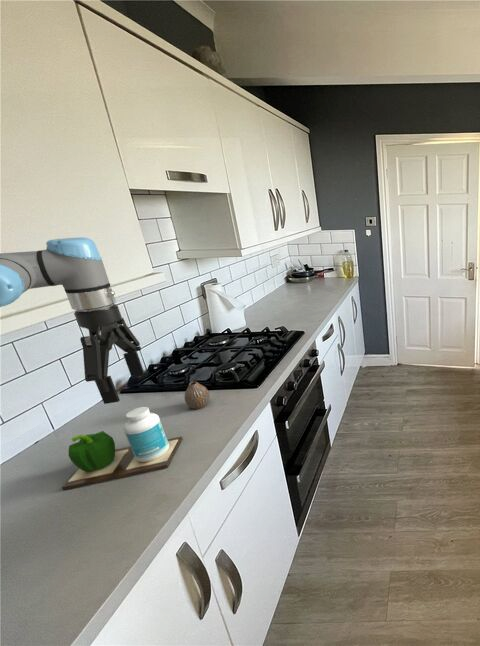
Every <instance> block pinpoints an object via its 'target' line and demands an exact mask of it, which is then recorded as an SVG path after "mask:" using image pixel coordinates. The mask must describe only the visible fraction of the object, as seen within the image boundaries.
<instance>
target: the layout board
mask: <svg viewBox="0 0 480 646" xmlns="http://www.w3.org/2000/svg"><path fill="white" fill-rule="evenodd" d="M183 439H184V438H183V436H176V437H172V438H167V440H168V443H169V449H168V451H167V452H166V453H165V454H163V455H162V456H160V457H159V458H157V459H154V460H152V461H147V462H140V461H138V460H136V458H135V456H134V453H133V451H132V449H131V446H126V447H121V448H115V457H114V460H113V461H112V462H111V463H110V464H109V465H108V466H106V467H104V468H101V469H95V470H93V471H89V472H86V471H83V470H81V469H80V468H78V467H77V469H76V470H75V471H74V472H73V474H72V475H71V476H70V477H69V478H68V479H67V481H66V482H65V483H64V484H63V486H62V487H61V489H62V490H63V491H68V490H72V489H77V488H81V487H86V486H90V485H96V484H100V483H105V482H109V481H113V480H118V479H123V478H128V477H131V476H137V475H141V474H145V473H151V472H156V471H159V470H165V469H168V468H169V467H170V465H171V463H172V461H173V459H174V457H175V455H176V454H177V451H178V450H179V446H180V445H181V443H182V442H183Z"/></svg>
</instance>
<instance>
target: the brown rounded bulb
mask: <svg viewBox="0 0 480 646" xmlns="http://www.w3.org/2000/svg"><path fill="white" fill-rule="evenodd" d="M183 396H184V401H185V404H186V406H188V407H189V408H191V409H193V410H199V409H202V408H204V407H206V406H207V405H208V404H209V402H210V391H209V390H208V388H207V387H206V386H204V385H203V384H200V383H199V382H198V381H192V382H189V384H188V386H187V388H186V390H185V391H184V395H183Z"/></svg>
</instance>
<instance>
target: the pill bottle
mask: <svg viewBox="0 0 480 646" xmlns="http://www.w3.org/2000/svg"><path fill="white" fill-rule="evenodd" d="M125 419H126V420H127V421H126V422H125V423H124V424H123V428H122V429H123V432H124V435H125V437H126V440H127V441H128V443H129V447H131V449H132V451H133V453H134V456H135V458H136V460H138V461H140V462H147V461H152V460H154V459H157V458H159V457H160V456H162V455H163V454H165V453H166V452H167V451H168V449H169V443H168V440H167V439H168V438H167V435H166V433H165V432H166V431H165V430H164V427H163V424H162V421H161V418H160V416H159V415H158V414H156V413H154V412H151V411H150V409H149V407H148V406H142V407H141V406H139V407H136V408H133V409H131V410H130V411H128V412H127V413H126V415H125Z"/></svg>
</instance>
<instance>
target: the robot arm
mask: <svg viewBox="0 0 480 646" xmlns="http://www.w3.org/2000/svg"><path fill="white" fill-rule="evenodd" d="M45 244H46V249H41V250H31V251H30V250H29V251H17V252H1V253H0V308H2V307H5V306H8V305H10V304H12V303H14V302H16V300H19V298H20V297H21V296H22V295H23V294H24V293H25V292H27V291H28V290H31V289H32V290H33V289H39V288H47V287H57V286H62V287H63V289H64V292H65V295H66V298H67V299H68V300H67V301H68V302H69V305H70V307H71V309H72V310H73V311H74V313H73V314H74V317H75V319H76V323H77V324H78V326H79V328H83V329H87V330H88V335H87V336H80V339H79V340H80V344H81V346H82V347H81V348H82V356H83V369H84V381H85V382H87V383H88V382H89V383H90V382H94V383H95V385H96V388H97V390H98V392H99V394H100V398H101V399H102V403H103V404H104V405H108V404H113V403H114V404H115V403H119V402H120V401H121V399H120V397H119V393H118V391H117V389H116V386H115V383H114V381H113V377H112V376H111V375H108V374H109V372H108V371H109V360H110V351H112V349H113V346H114V345H115V346H116V347H118V348H119V349H120V350H122V351H123V352H124V353H123V354H122V355H123V358H124V361H125V363H126V366H127V369H128V372H129V375H130V377H131V378H132V377H139V376H144V375H145V371H144V368H143V366H142V363H141V360H140V359H141V358H140V356H139V354H138V352H139V351H142V347H141V346H140V345H141V343H140V342H139V340H138V338H137V337H136V336H135V334H134V333H133V332H132V331H131V328H130V327H129V326H128V325H127V323H126V321H125V318H124V317H123V316H122V314H121V311H120V308H119V305H118V304H116V302H117V300H116V297H115V295H116V292H115V291H113V289H112V286H111V283H110V280H109V277H108V274H107V271H106V267H105V265H104V262H103V259H102V256H101V255H100V252H99V250H98V248H97V247H98V246H97V244H96V243H95V241H94V240H93V239H91V238H89V237H82V236H81V237H79V236H78V237H66V238H65V237H64V238H54V239H49V240H47V241H46V242H45Z"/></svg>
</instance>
